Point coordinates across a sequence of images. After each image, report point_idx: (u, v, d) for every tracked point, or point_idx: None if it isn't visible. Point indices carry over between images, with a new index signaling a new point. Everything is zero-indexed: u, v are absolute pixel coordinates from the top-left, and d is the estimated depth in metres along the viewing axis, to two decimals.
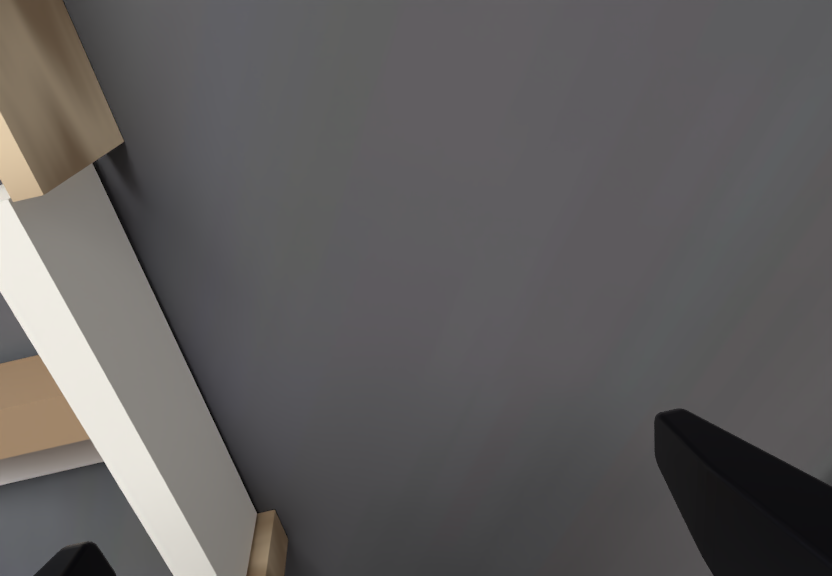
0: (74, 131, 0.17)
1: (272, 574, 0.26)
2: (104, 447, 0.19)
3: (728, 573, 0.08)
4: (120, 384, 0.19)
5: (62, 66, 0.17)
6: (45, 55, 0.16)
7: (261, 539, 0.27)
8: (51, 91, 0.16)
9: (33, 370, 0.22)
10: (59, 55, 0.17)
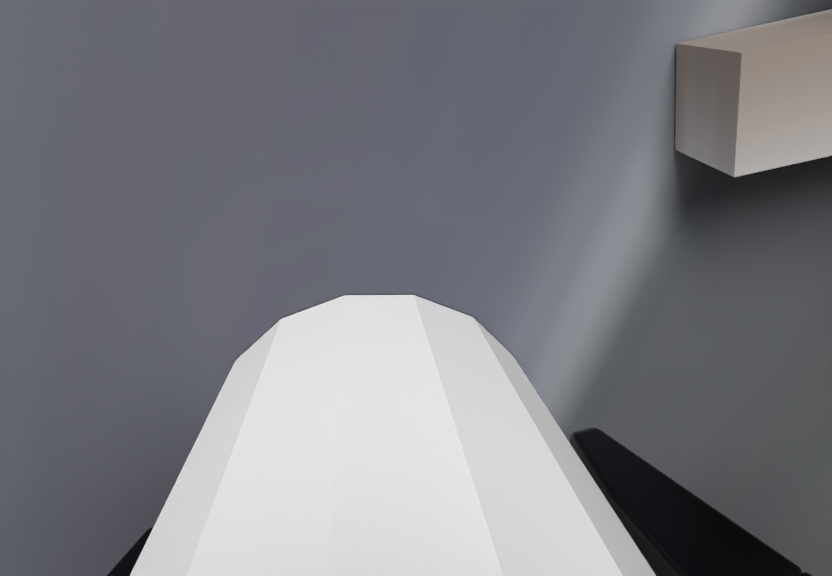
0: None
1: None
2: None
3: None
4: None
5: None
6: None
7: None
8: None
9: None
10: None
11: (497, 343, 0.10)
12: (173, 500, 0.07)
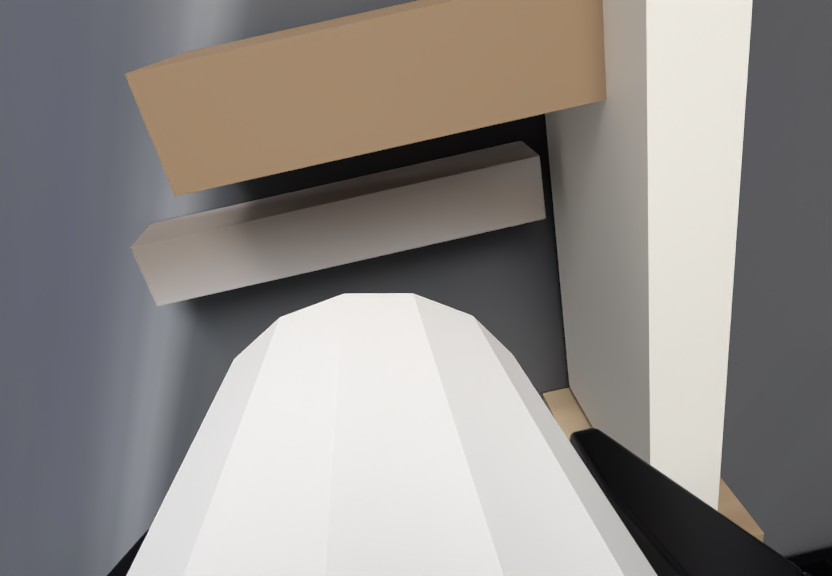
0: None
1: None
2: (666, 70, 0.08)
3: None
4: None
5: None
6: None
7: None
8: None
9: (386, 9, 0.11)
10: None
11: (497, 342, 0.10)
12: (170, 499, 0.06)
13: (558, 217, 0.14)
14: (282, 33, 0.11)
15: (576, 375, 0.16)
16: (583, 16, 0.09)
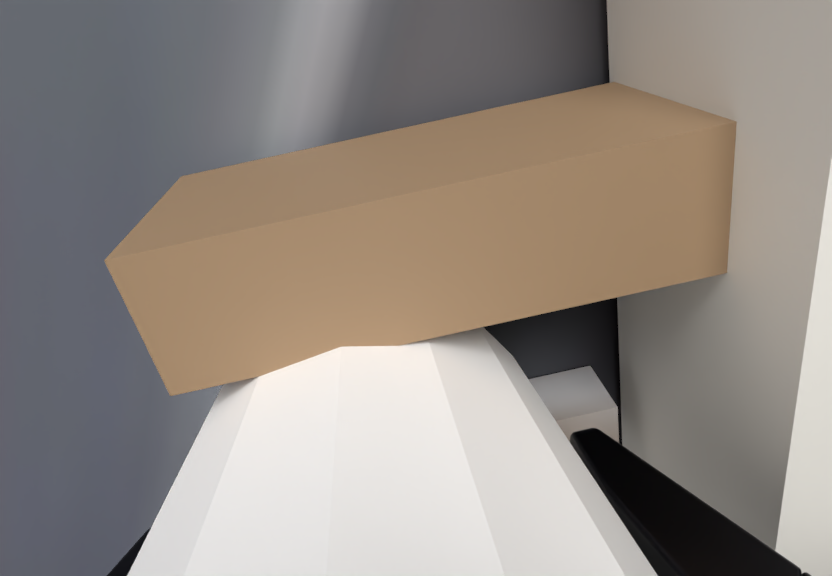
0: None
1: None
2: None
3: None
4: None
5: None
6: None
7: None
8: None
9: (437, 138, 0.09)
10: None
11: (497, 342, 0.10)
12: (173, 497, 0.07)
13: (625, 349, 0.12)
14: (307, 171, 0.09)
15: None
16: (707, 179, 0.07)
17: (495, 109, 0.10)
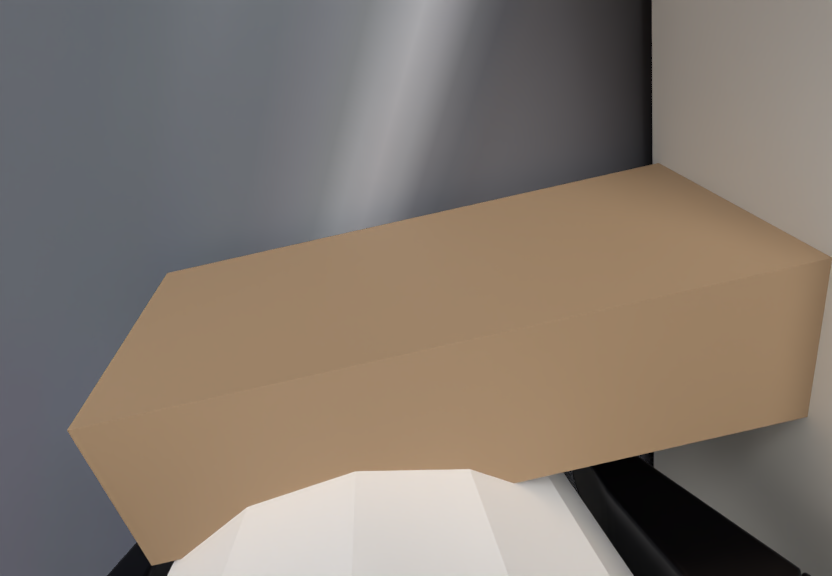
0: None
1: None
2: None
3: None
4: None
5: None
6: None
7: None
8: None
9: (461, 241, 0.08)
10: None
11: None
12: None
13: None
14: (311, 284, 0.07)
15: None
16: (793, 320, 0.06)
17: (524, 196, 0.09)
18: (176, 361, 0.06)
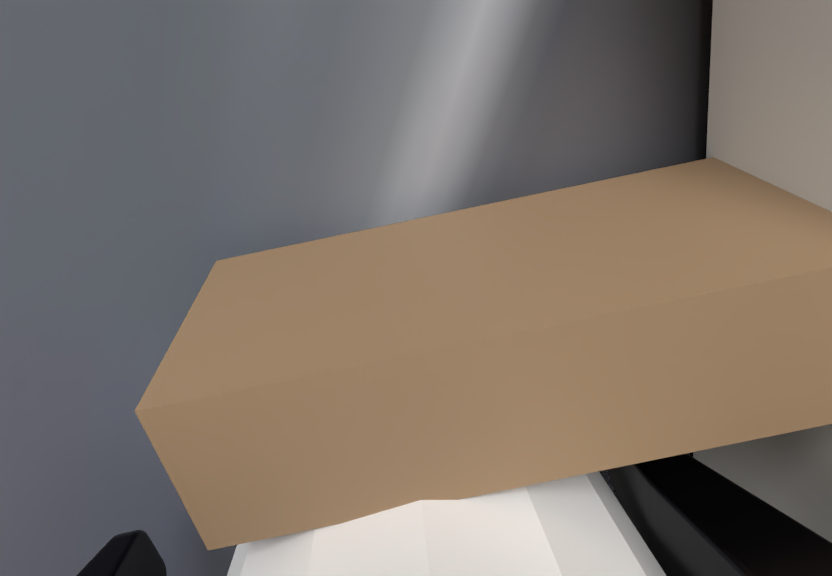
0: None
1: None
2: None
3: None
4: None
5: None
6: None
7: None
8: None
9: (517, 232, 0.08)
10: None
11: None
12: None
13: None
14: (367, 272, 0.07)
15: None
16: None
17: (576, 188, 0.08)
18: (238, 345, 0.06)
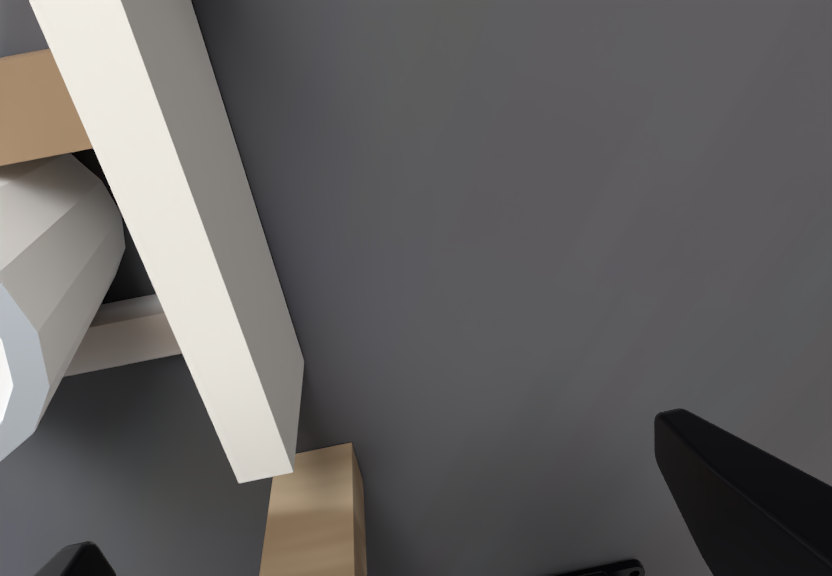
0: None
1: (357, 518, 0.20)
2: (99, 128, 0.11)
3: (728, 573, 0.08)
4: (131, 6, 0.11)
5: None
6: None
7: (340, 475, 0.21)
8: None
9: None
10: None
11: (83, 168, 0.17)
12: None
13: None
14: None
15: None
16: None
17: None
18: None
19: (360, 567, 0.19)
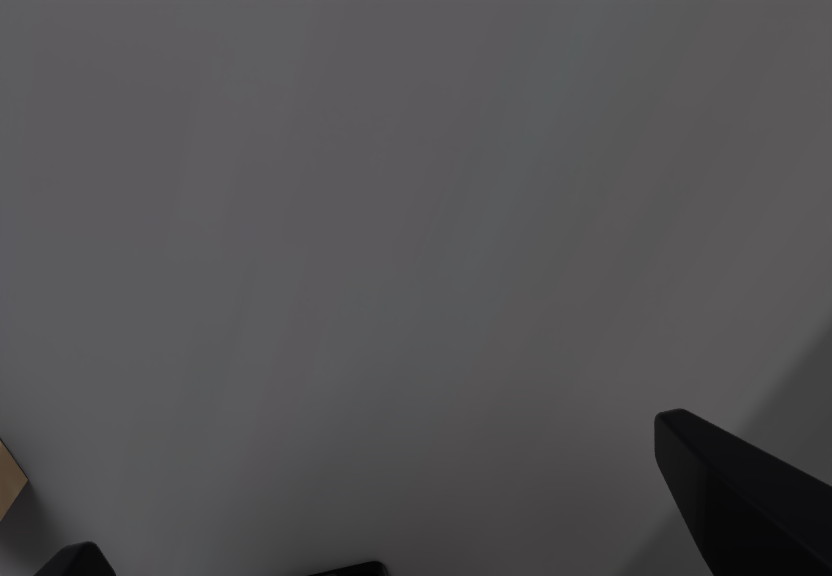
0: None
1: None
2: None
3: (728, 573, 0.08)
4: None
5: None
6: None
7: None
8: None
9: None
10: None
11: None
12: None
13: None
14: None
15: None
16: None
17: None
18: None
19: None
